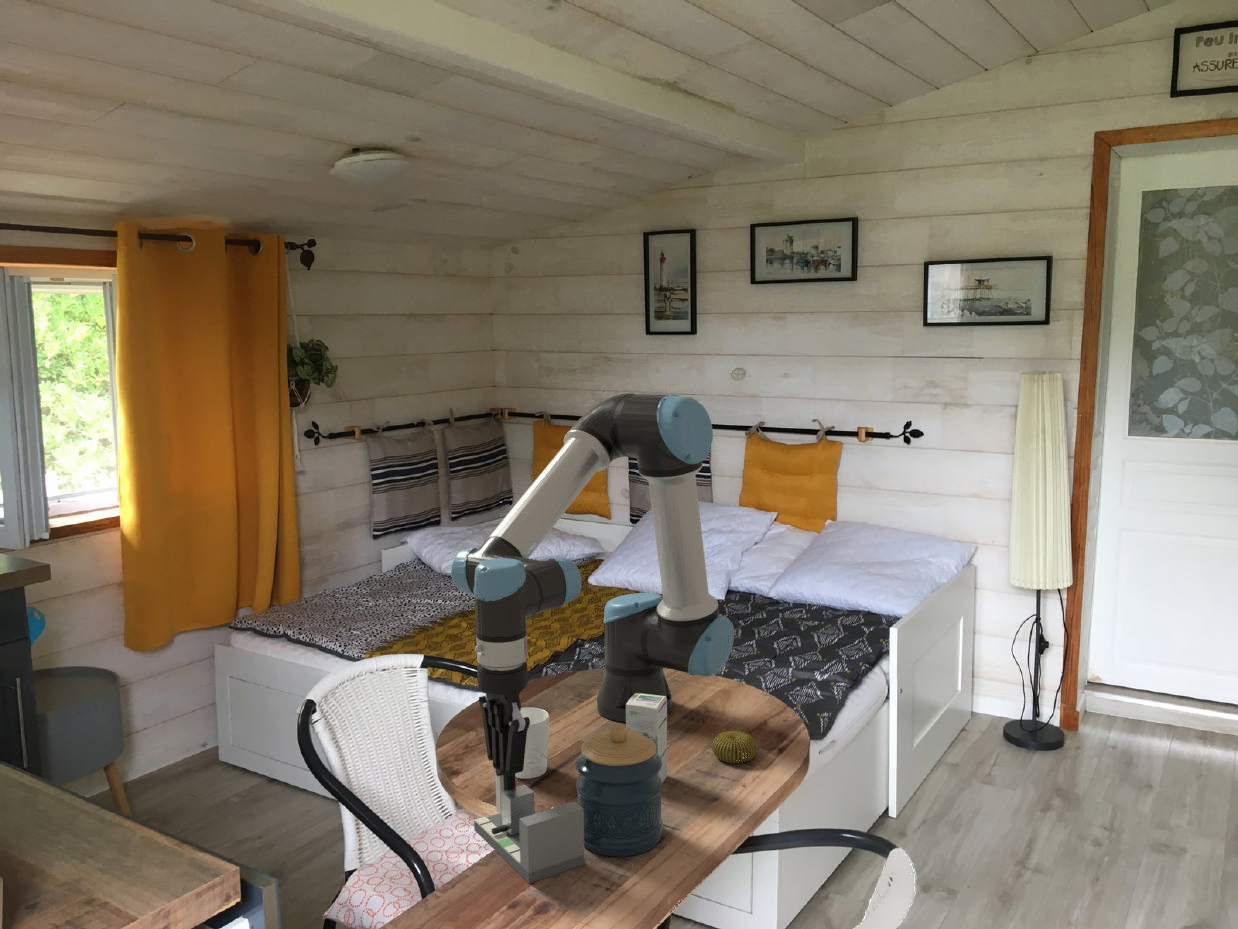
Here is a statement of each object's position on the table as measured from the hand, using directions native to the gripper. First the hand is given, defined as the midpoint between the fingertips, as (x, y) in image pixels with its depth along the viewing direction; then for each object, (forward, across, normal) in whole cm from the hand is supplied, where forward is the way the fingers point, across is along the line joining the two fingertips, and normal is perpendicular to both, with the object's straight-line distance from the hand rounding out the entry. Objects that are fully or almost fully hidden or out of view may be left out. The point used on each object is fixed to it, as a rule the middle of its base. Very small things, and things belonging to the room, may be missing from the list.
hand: (506, 810), depth 157 cm
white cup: (+3, -17, +12) cm, 21 cm away
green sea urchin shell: (+3, -1, +45) cm, 45 cm away
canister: (+3, +12, +13) cm, 18 cm away
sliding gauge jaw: (+1, +4, -1) cm, 4 cm away
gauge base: (+3, +6, 0) cm, 7 cm away
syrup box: (+3, -2, +27) cm, 27 cm away
